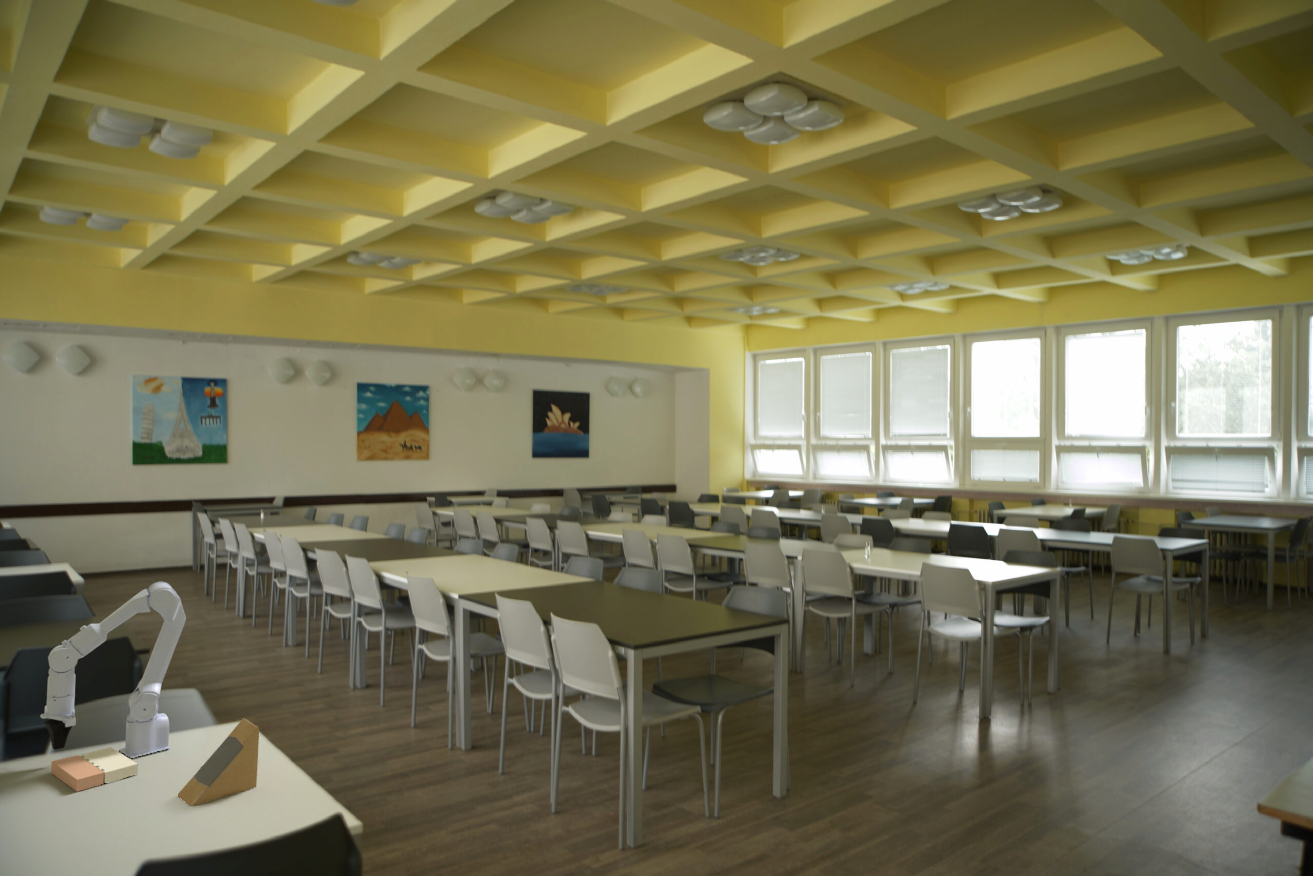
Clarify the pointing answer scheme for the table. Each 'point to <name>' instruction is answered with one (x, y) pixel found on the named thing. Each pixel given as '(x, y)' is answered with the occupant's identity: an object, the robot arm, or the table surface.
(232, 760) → the sandwich container
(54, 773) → the block
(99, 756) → the board
